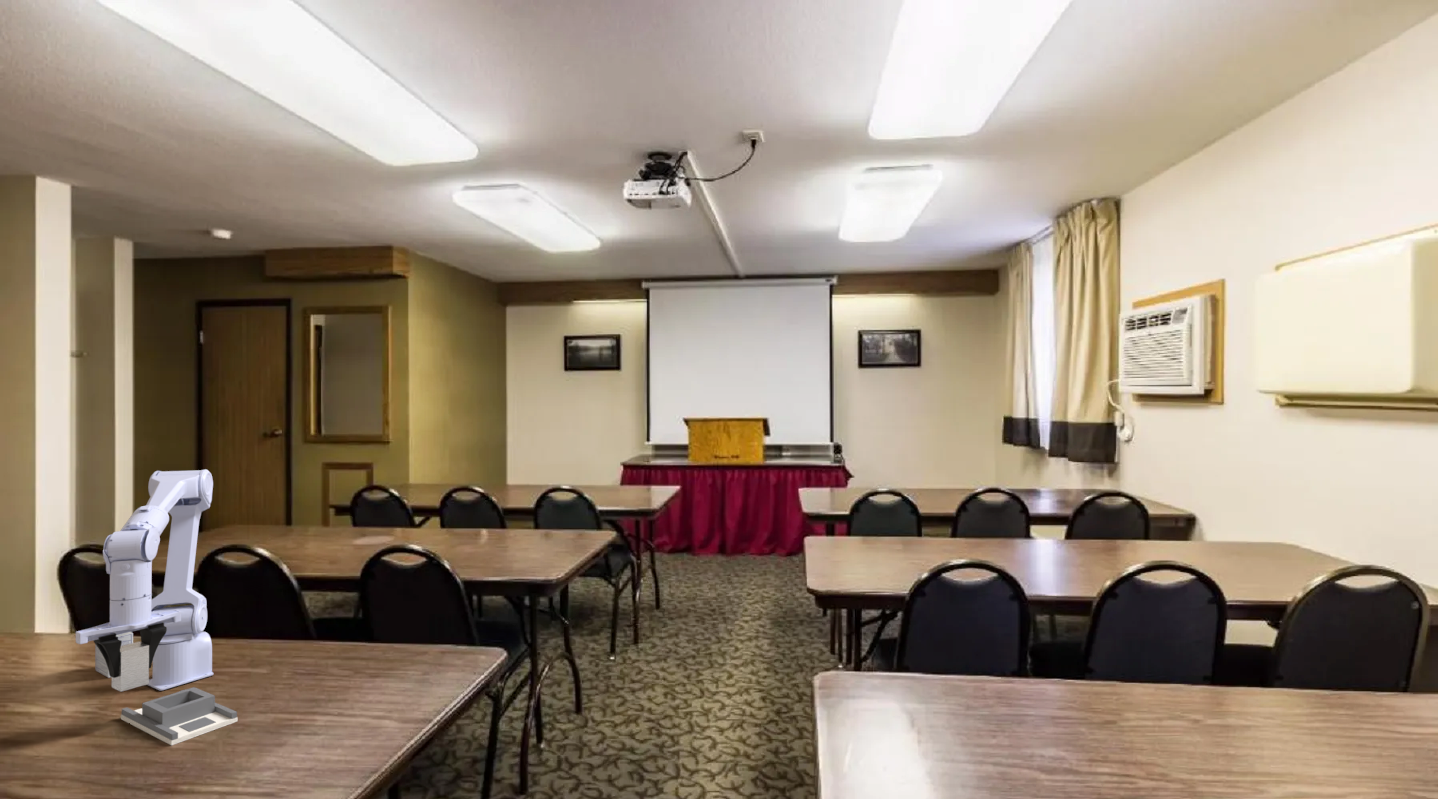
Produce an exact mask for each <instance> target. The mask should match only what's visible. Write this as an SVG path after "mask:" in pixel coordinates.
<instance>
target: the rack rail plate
mask: <svg viewBox="0 0 1438 799" xmlns="http://www.w3.org/2000/svg"><path fill="white" fill-rule="evenodd" d="M141 707H142V708H141ZM141 707H140V708H138V709H135V710H133V709H131V708H129V707H123V708H121V714H120V719H121V720H122V721H124V722H125V723H127V724H129V723H130V725H132V726H133V727H135V728H137V729H139V730H141V731H142V732H144V733H146V734H149V735H150V736H153V737H154V738H156V739H158V740H160V741H161V742H164V743H166V744H168V745H170V746H174V745H177V744H179V743H182V742H185V741H188V740H190V739H193V738H195V737H198V736H201V735H205V734H207V733H210V732H213V731H214V730H218V729H221V728H223V727H226V726H228V725H232V724H235V723H236V722H239V721H238V720H239V719H238V711H236V710H234V709H231V708H229V707H227V706H225V705H222V704H220V703H217V702H216V696H215V695H214V694H212V693H209V692H208V691H204V690H203V689H200V688H197V687H190V688H186V689H182V690H180V691H177V692H174V693H171V694H167V695H163V696H161V697H158V698H154V699H150V700H148V701H145V702H142V704H141Z"/></svg>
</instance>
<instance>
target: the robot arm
mask: <svg viewBox="0 0 1438 799" xmlns="http://www.w3.org/2000/svg"><path fill="white" fill-rule="evenodd" d="M213 488H214V480H213V476H212V473H211V472H210V471H209V470H208V469H206V468H205V469H201V470H199V469H198V470H195V469H194V470H193V469H192V470H169V471H168V470H165V471H162V470H156V471H154V472H153V473H152V474H151V475H150V477H149V481H148V488H147V489H148V490H147V491H148V495H149V499H148V500H147V503H146V505H143V506H139V507H137V509H135V510H134V511H133V513H132V514H131V516H130V517H129V518H128V520H127V521H126V522H125V523H124V525H123V526H122V528H120V530H117V531H114V532H113V533H112V534H109V535H107V537H106V538H105V540H104V542H103V543H104V544H103V550H102V555H103V556H102V557H103V560H104V562H105V571H106V574H108V575H109V622H106V623H103V624H99V625H96V626H92V627H89V628H85V629H81V630H78V631H77V630H76V631H75V643H76V644H77V645H83V644H88V642H92V641H93V643H94V645H95V644H96V646H97V647H98V649H99V650H100V652H101V653H102V655H103V657H104V659H105V661H106V664H107V667H108V670H109V675H110V676H111V678H112V677H113V678H116V677H119V668H120V667H119V655H120V648H121V643H122V641H120V640H118V637H116V635H119V634H123V633H128V632H132V633H133V632H136V631H139V635H140V642H142V643H145V644H147V645H149V669H151V668H152V678H149V684H146V685H145V686H148V687H151V688H153V689H154V690H155V689H156V690H158V691H160V692H161V691H164V690H168V689H172V688H176V687H178V686H182V685H184V684H189V683H191V682H195V681H198V680H201V679H205V678H208V677H211V676H212V677H213V675H214V672H213V643H212V638H211V635H210V634H209V633H208V632H206V631H204V630H205V628H206V626H207V622H208V608H207V606H208V605H207V600H208V599H207V598H206V597H205V596H204V595H203V594H202V593H199V592H197V591H196V590H194V589H193V583H194V574H195V573H194V572H195V564H196V556H197V554H196V553H197V548H198V547H197V546H198V544H197V543H198V537H199V536H198V535H199V526H200V519H201V516H202V513H203V512H204V511H206V510H208V509H210V507H211V504H212V501H213V491H214V490H213ZM169 515H170V516H171V524H170V529H169V530H170V531H169V539H168V540H169V542H168V549H167V555H166V556H167V557H166V558H167V559H166V565H165V573H164V574H165V575H164V581H163V589H162V592H160V593H159V594H157V595H156V596H154V597H153V598H152V596H153V593H152V588H153V587H152V586H153V584H152V579H153V578H152V577H153V576H152V573H153V572H152V570H153V567H152V566H153V560H154V559H155V558H156V556H157V554H158V549H159V546H160V543H161V542H160V541H161V538H160V536H161V535H162V533H163V532H164V530H165V529H166V527H167V525H168V524H169V522H170V516H169ZM185 604H189V605H185ZM190 604H191V605H190ZM174 605H176V606H174ZM177 605H180V606H177ZM167 606H168V607H167Z"/></svg>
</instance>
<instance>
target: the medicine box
mask: <svg viewBox="0 0 1438 799" xmlns="http://www.w3.org/2000/svg"><path fill="white" fill-rule="evenodd" d="M116 637H118V640H120V641H122V643H121V646H123V645H127V644H131V643H134V633H133V631H132V632H128V633H123V634H119V635H116ZM94 645H95V646H94V647H95V648H94V649H95V652H94V654H95V656H94V657H95V658H94V662H95V664H94V665H95V666H94V667H95V672H97V673H99V674H101V675H103V676H105V677H107V678H108V679H110V678H111V679H112V677H111V676H110V675H109V670H108V667H107V664H106V661H105V659H104V657H103V655H102V653H101V652H100V650H99V649H98V647H97V646H96V644H95V643H94Z"/></svg>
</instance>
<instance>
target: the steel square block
mask: <svg viewBox="0 0 1438 799" xmlns="http://www.w3.org/2000/svg"><path fill="white" fill-rule="evenodd" d="M119 667H120V668H119V677H116V678H113V677H111V688H112V689H114V690H116V691H118V692H124V691H129V690H132V689H135V688H139V687H143V686H147V685H146V684H149V679H150V668H149V645H147V644H145V643H142V642H141V640H140V641H135V642H133V643H131V644H127V645H123V646H121V648H120V655H119Z"/></svg>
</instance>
